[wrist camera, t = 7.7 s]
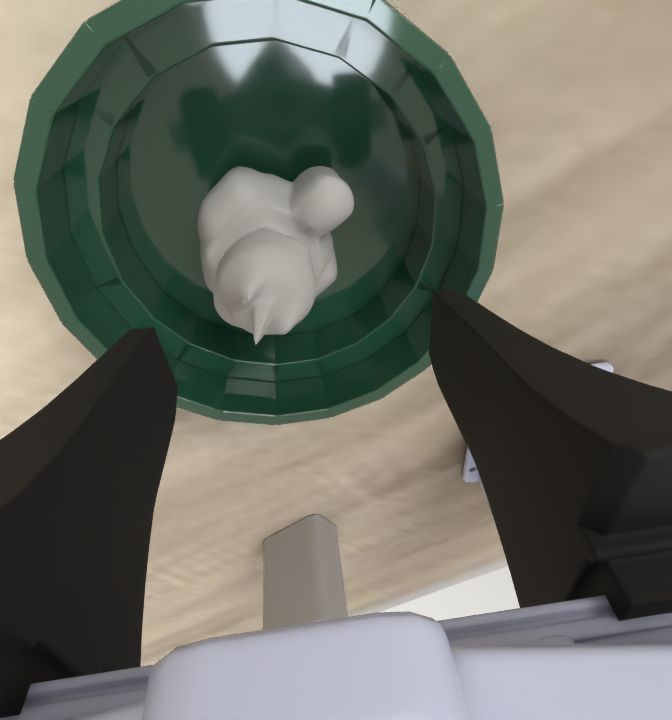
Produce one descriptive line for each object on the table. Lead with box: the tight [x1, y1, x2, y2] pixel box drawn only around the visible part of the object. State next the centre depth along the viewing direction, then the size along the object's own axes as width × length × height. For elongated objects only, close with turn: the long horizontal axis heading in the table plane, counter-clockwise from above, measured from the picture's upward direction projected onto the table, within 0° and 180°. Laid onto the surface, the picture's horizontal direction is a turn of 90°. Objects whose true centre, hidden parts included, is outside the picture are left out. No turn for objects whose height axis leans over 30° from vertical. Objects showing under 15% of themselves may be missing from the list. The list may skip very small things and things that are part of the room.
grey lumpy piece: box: [197, 166, 354, 345], centre depth 16 cm, size 5×7×8 cm
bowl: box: [14, 0, 504, 425], centre depth 17 cm, size 15×15×5 cm
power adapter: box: [263, 515, 348, 630], centre depth 30 cm, size 3×5×12 cm, turn 126°
